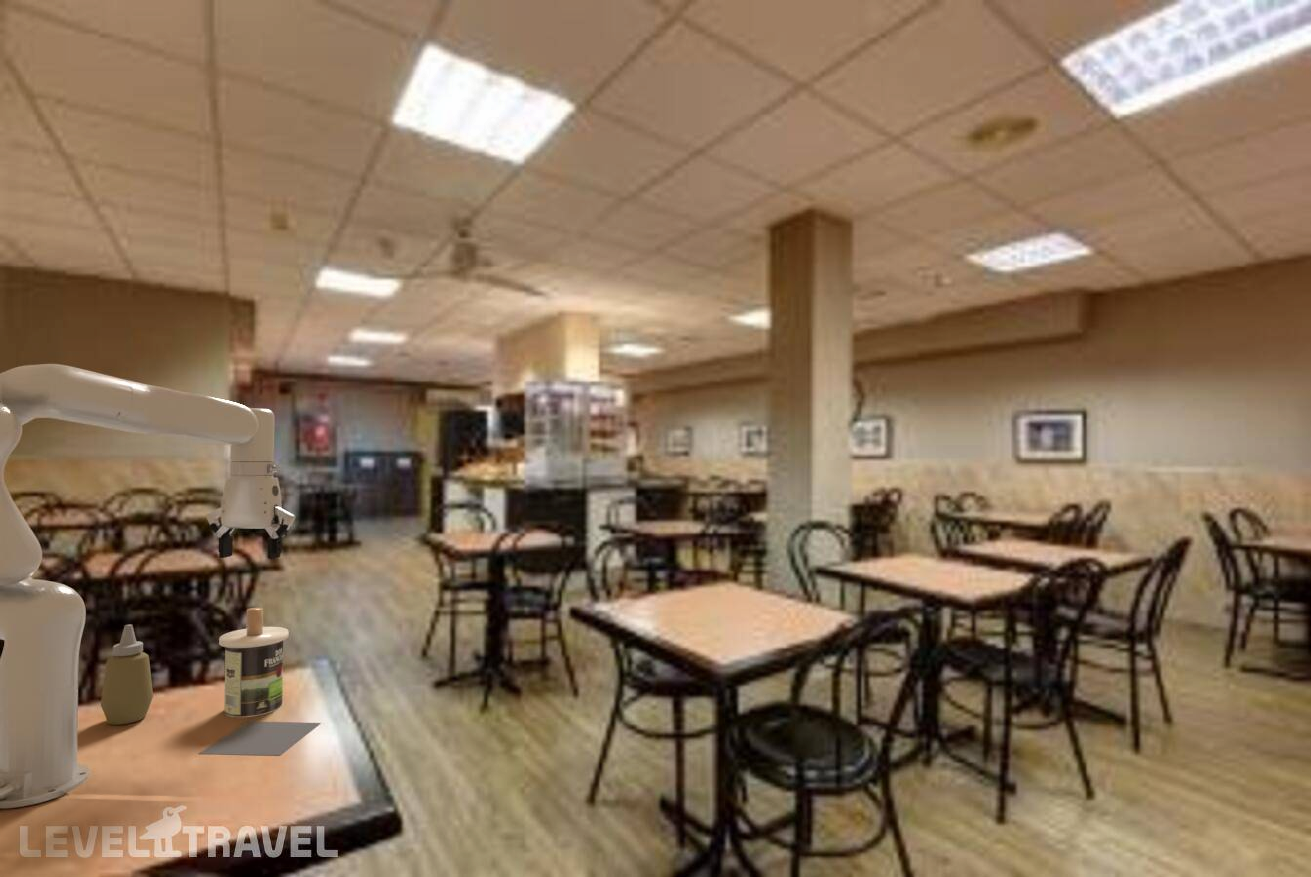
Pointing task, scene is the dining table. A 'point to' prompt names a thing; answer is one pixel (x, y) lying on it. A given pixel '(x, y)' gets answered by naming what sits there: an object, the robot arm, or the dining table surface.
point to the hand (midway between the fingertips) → (249, 557)
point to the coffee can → (253, 680)
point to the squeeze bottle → (127, 681)
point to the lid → (254, 633)
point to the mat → (261, 738)
